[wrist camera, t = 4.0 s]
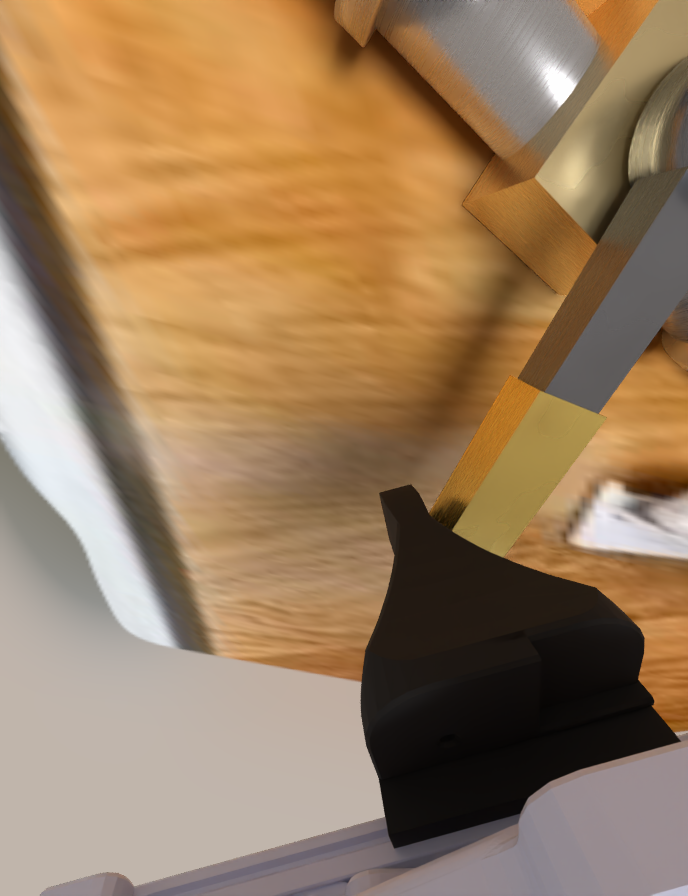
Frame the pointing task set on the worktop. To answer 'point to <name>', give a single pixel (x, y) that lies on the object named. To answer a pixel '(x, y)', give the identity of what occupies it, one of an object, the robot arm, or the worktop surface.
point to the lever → (583, 340)
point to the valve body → (542, 111)
